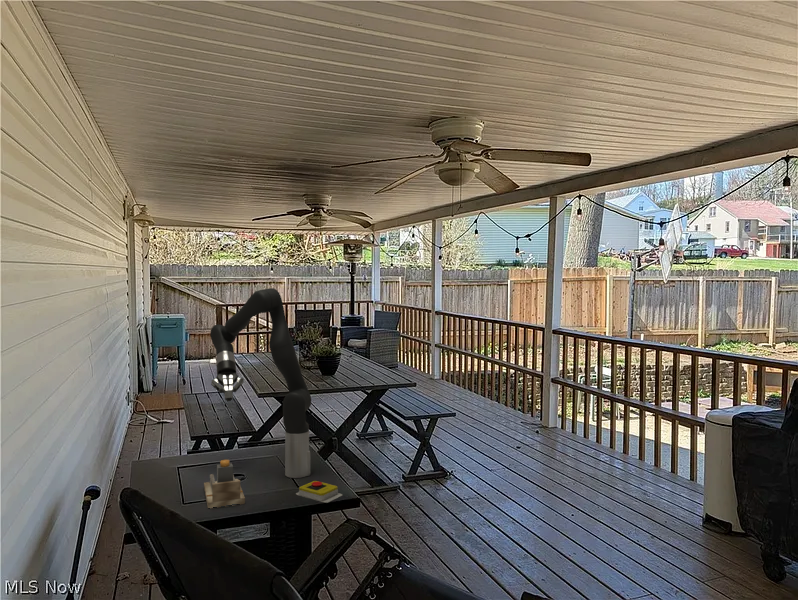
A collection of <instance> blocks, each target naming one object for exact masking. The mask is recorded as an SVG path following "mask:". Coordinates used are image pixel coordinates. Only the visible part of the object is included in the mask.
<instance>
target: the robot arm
mask: <svg viewBox="0 0 798 600" xmlns="http://www.w3.org/2000/svg"><path fill="white" fill-rule="evenodd" d="M265 313H269V316H270V321H271V332H270V337H269V351H270V354H271V357H272V360H273V363H274V364H275V366H276V368H277V369H278V371H279V372H280V374H281V375H282V377H283V378H284V381H285V382H286V385H287V389H288V393H287V394H286V395H285V396H284V398H283V401H282V422H283V425H284V428H285V429H284V435H285V436H284V437H285V439H284V441H285V443H284V446H285V447H284V449H285V450H284V452H285V453H284V454H285V457H284V461H285V463H284V464H285V467H284V468H285V469H284V471H285V472H284V474H285V476H286V477H287V478H291V479H299V478H305V477H307V476H311V451H310V424H309V423H308V422H307V421H306V420H307V419H306V411H307V410H309V409H310V407H311V405H312V396H311V393H310V391H309V389H308V385H307V384H306V382H305V379H304V377H303V373H302V370H301V367H300V364H299V360H298V357H297V351H296V349H295V346H294V343H293V340H292V337H291V334H290V330H289V327H288V323H287V318H286V314H285V313H286V312H285V308H284V303H283V299H282V296H281V294H280V292H279V291H278V290H277V289H276V288H273V287H272V288H265V289H260V290H256V291H254V292H253V293H252V294H251V295H250V297H249V298H248V299H247V301H246V302H245V303H244V304H243V305H242V307H241V308H240V309H239V310H238V311H237V312H236V313H235V314H233V315H232V316H231V317H229V318H228V319H227V320H226V321H225V323H224V325H223V324H220V323H219V324H214V325H213V326H212V327H211V330H210V335H209V336H210V340H211V342H212V345H213V346H214V350H215V353H216V354H215V355H216V356H215V357H216V359H215V363H216V365H215V366H216V378H214V379H212V380H211V384H210V385H211V386H212V387H213V388H214V389H215V390H217V392H219V393H220V394H222V393H223V394H224V400H225V401H226V402H232V400H233V397H234V395H233V393H236V392H237V391H238V390H239V389H240V388H241V386H243V385H244V380H245V379H244V377H241V378H240V377H239V374H238V373H237V365H236V358H235V350H234V345H233V343H234V342H235V340H237V339H236V338H237V337H238V335H239V334H240V332H242V330H244V329H245V328H247V327H248V326H249V324H250V323H251V319H252V318H254V317H255V316H257V315H259V314H265Z"/></svg>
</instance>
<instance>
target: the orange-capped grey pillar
mask: <svg viewBox="0 0 798 600" xmlns="http://www.w3.org/2000/svg"><path fill="white" fill-rule="evenodd" d="M219 463H220V464H216V481H217V483H220V482H228V481H233V475H234V466H233V463H231V462H230V459H222V460H219Z"/></svg>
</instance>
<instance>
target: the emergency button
mask: <svg viewBox="0 0 798 600" xmlns="http://www.w3.org/2000/svg"><path fill="white" fill-rule="evenodd" d="M295 495H297V496H299V497H303V498H306V499H311V500H314V501H317V502H321V503H326V504H328V503H330V502H332V501H334V500H336V499H338V498H340V497H343V493H339V489H338V486H337V485H334V484H330V483H326V482H323V481H317V480H313V481H311V482H309V483H305V484H304V485H301V486H299V488H298V492H296V493H295Z"/></svg>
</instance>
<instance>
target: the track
mask: <svg viewBox="0 0 798 600" xmlns="http://www.w3.org/2000/svg"><path fill="white" fill-rule="evenodd" d="M203 490H204V494H205V500H206V506H207V509H208V508H210V509H214V508H213V507H217V508H222V507H221V506H225V507H227V506H226V505H232V504H240V505H245V503H246V496H245V495H244V491H243V488H242V486H241V479H238V478H235V475H234V474H233V481H228V482H220V483H217V480H216V479H215V475H214V473H212V474H209V481H207V482H203ZM232 506H233V505H232Z"/></svg>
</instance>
